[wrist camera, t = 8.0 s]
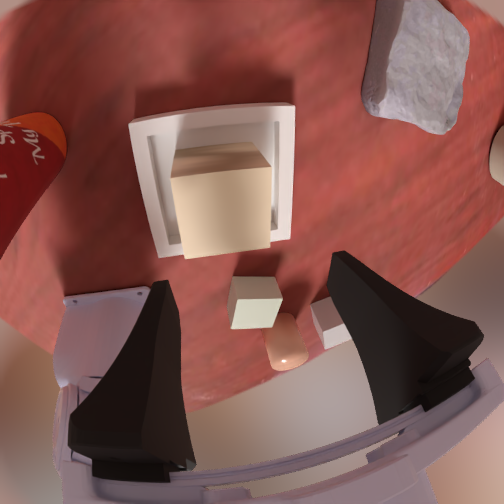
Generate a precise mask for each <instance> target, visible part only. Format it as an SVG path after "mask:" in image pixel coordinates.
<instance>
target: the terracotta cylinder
mask: <svg viewBox="0 0 504 504" xmlns="http://www.w3.org/2000/svg"><path fill="white" fill-rule="evenodd" d="M261 331H262V335H263V338H264V342H265V345H266V349H267V352H268V356H269V359H270V363H271V366H272V368H273V369H275V370H280V371H283V370H289V369H293V368H296V367H298V366H300V365H301V364H303V363H304V362H305V361H306V360H307V359H308V357H309V354H308V351H307V348H306V346H305V343H304V341H303V338H302V336H301V333H300V331H299V328H298V325H297V323H296V320H295V318H294V316H293V315H292V314H290V313H277V316H276V319H275V321H274V324H273V326H272V327H270V328H261Z"/></svg>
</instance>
